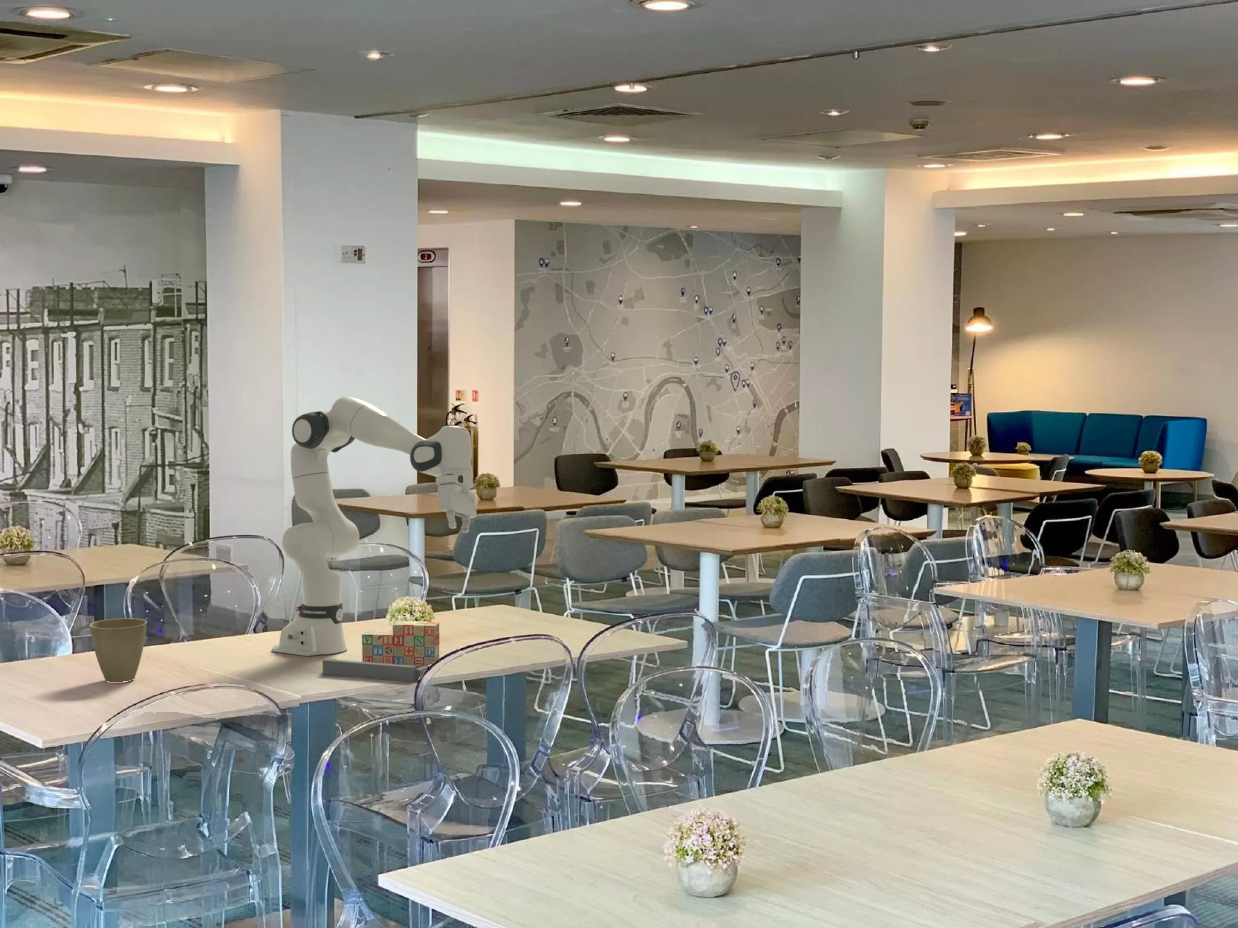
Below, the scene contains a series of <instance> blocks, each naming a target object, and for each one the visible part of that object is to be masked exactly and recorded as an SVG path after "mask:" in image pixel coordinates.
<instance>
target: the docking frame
mask: <svg viewBox="0 0 1238 928" xmlns="http://www.w3.org/2000/svg"><path fill="white" fill-rule="evenodd" d="M428 667H429V666H423V667H416V666H410V665H397V664H384V663H371V662H362V661H358V660H357V661H356V660H345V659H344V660H342V659H337V658H326V659H323V660H322V675H324V676H334V677H335V676H336V677H346V678H347V677H349V678H360V679H361V678H362V679H372V680H383V681H384V680H385V681H386V680H387V681H397V682H409V683H410V682H411V683H413V682H416V681H417V680H418V679H419V677H421V675H422V674H423V673H424V671H425V670H427V668H428ZM429 668H430V667H429Z"/></svg>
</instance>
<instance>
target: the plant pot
mask: <svg viewBox="0 0 1238 928" xmlns="http://www.w3.org/2000/svg"><path fill="white" fill-rule="evenodd" d="M147 623H148V621H147V620H146V619H142V618H141V619H140V618H132V617H131V618H129V617H127V618H122V617H121V618H110V619H102V620H97V621H94V622H92V623H90V624H89V630H90V635H91V642H92V645H93V650H94V653H95V654H94V655H95V656H96V659H97V663H98V666H99V669H100V671H101V673H102V675H103V678H104V680H105V682H106V681H109V682H123V681H129V680H132V679H134V680H135V678H136V675H137V672H138V670H139V666H140V663H141V659H142V655H143V650H144V645H145V640H146V633H147Z"/></svg>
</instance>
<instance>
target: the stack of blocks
mask: <svg viewBox="0 0 1238 928" xmlns="http://www.w3.org/2000/svg"><path fill="white" fill-rule="evenodd" d="M361 645H362V646H361V647H362V648H361V651H362V652H361V653H362V654H361V655H362V658H361V660H362V661H361V662H371V663H384V664H397V665H410V666H416V668H420V667H423V666H428V665H430V664H432V663H433V662H435V661H436V660H438V659H439V660H440V622H439V621H438V622H437V621H426V620H424V621H423V620H421V621H420V620H419V621H416V620H409V621H407V620H397V621H396V622H395V623H393V624H392V630H391V631H390V630H367V631H364V633H362V634H361Z"/></svg>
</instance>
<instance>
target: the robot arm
mask: <svg viewBox="0 0 1238 928" xmlns="http://www.w3.org/2000/svg"><path fill="white" fill-rule="evenodd" d="M291 434H292V439H293V440H294V441H295V443H294V444H293V445H292V447H291V449H290V472H291V473H290V474H291V479H292V485H293V490H294V491H293V492H294V497H295V498H294V499H295V503H296V505H297V506H298V507H299V508H300V509H302V510H304V511H305V512H307V513H308V515H309V516H310V517H311V519H312V522H302V523H299V524H296V525H293V526H290V527H288V528H287V529H285V532H284V533H283V535H282V540H281V542H282V543H281V544H282V549H283V551H284V553H285V555H286V556H287V557H288V558H290V559H291V560H292V561H293V562H294V564H296V567H297V568H298V570H299V573H300V576H301V579H302V588H303V589H302V592H303V593H302V594H303V604H300V605H299V606H297V607H295V611H296V612H298V611H299V613H298V616H297V617H296V618H294V619H293V620H292V621H291V622H290V623H288V624H286V626H284V627H283V628H282V630H281V632H280V636H279V640H278V641H279V642H278V643H277V644H275V645H274V646H272V648H271V652H274V653H275V652H276V653H284V654H289V655H290V654H291V655H298V656H304V657H311V656H318V655H319V656H320V655H330V654H331V655H332V654H338V653H342V652H346V651H347V650H348V647H347V643H346V639H345V635H344V628H343V615H344V614H343V613H344V609H343V608H344V607H343V606H344V605H343V603H342V588H341V587H342V586H341V585H342V583H341V582H342V581H341V577H340V576H339V575H338V573H336V572H334V570H331V569H330V567H329V564H328V560H327V558H332V557H339V556H340V557H341V556H344V555H346V554H348V553H351V552H352V551H355V550H356V549H357V548H358V546H359V543H360V530H359V529H358V527H357V526H356V524H355V523H354V522H353V521H351V520H350V519H348V518H347V517H346V515H345V514H344V513H343V511H342V510H341V509H340V507H339V505H338V503H337V501H336V498H335V496H334V489H333V486H332V482H331V475H330V469H329V465H328V455H329V454H330V453H338V452H339V451H341V450H342V449H343V448H345V447H347V446H349V445H351V444H352V443H353V442H354V441H355V440H358V441H359V442H362V443H364V444H367V445H371V446H374V447H378V448H385V449H391V450H395V451H399V452H402V453H405V454H407V455H409V460H410V466H411V467H412V468H413V469H414V470H415V471H416V472H419V473H421V474H425V475H429V476H433V477H435V485H437V502H438V506H439V509H440V511H444V512H445V513H446V514H445V515H446V518H447V521H448V528H449V529H457V521H456V518H455V517H456V516H457V517H460V518H461V521H462V523H461V526H460V528H461V530H460V531H461V533H463V534H464V533H465V534H466V533H469V532H470V524H471V519H474V518H476V517H477V513H478V511H477V501H476V495H475V493H474V492H473V491H472V490H471V489H473V487H474V475H473V467H472V458H473V449H472V448H473V447H472V439H471V438H472V437H471V434H470V432H469V430H468V429H467V428H465V427H462V426H458V425H445V426H442V427H441V428H440V430H439V431H438V432H436V433H435V434H434V435H432V436H430V437H428V438H424V437H423V436H420V435H418V434H417V433H414V432H413V431H411V430H410V429H408V428H407V427H405V426H404V425H403V424H401V423H400V422H398V421H397V420H395V419H394V418H393V417H391V416H390V415H389V414H388V413H386V412H385V411H383V410H382V409H380V408H378V407H377V406H375V405H373V404H371V403H369V402H367V401H365V400H363V399H360V398H356V397H354V396H349V395H346V396H342V397H339V398H338V399H336V400H335V402H334V403H333V405H332V406H331V409H330V410H329V411H321V410H317V411H312V412H311V411H310V412H307V413H303V414H302V415H301V414H300V415H299V416H298V417H296V418H295V420H294V421H293V423H292V427H291Z"/></svg>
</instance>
